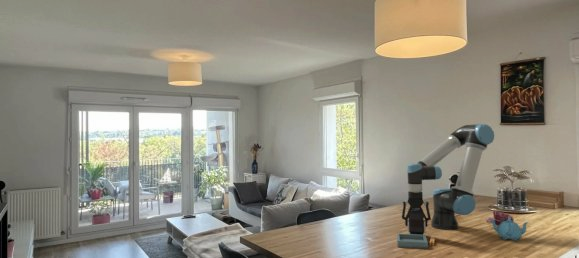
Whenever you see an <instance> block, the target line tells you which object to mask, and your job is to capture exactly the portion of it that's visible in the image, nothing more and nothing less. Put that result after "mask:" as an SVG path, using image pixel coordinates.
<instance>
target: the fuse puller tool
mask: <svg viewBox="0 0 579 258" xmlns="http://www.w3.org/2000/svg"><path fill="white" fill-rule="evenodd" d="M435 242H436V237H435V236H431V237H430V240H429V246H435Z"/></svg>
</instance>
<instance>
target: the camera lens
mask: <svg viewBox="0 0 579 258" xmlns="http://www.w3.org/2000/svg"><path fill="white" fill-rule="evenodd" d="M408 211H409V217H408V220H409V232H408V233H409V234H418V235H425V233H424V222H423V220H425V219H424V217H423V212H424V209H423V208H422V210H420V209H419V208H412V210H409V208H408V210H407V212H408Z"/></svg>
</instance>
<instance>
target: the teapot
mask: <svg viewBox="0 0 579 258" xmlns="http://www.w3.org/2000/svg"><path fill="white" fill-rule="evenodd" d="M490 220H491V219H490ZM491 221H492V223H493V224H492V223H491V224H492V226H493V229H494V230H495V232H496V233H497V235H498V236H499V237H500V238H502V240H503V241H507V240H508V239H511V240H512V241H513V242H518V239H521V238H523V235H524V234H525V233H526V231H527V225H528V224H529V223H530V222H529V221H527V222H524V223H523V225H522V228H521V227H520V225H519V224H518V223H517V222H515V221H513V222H511V221H512V220H511V218H510V217H508V220H507V221H503V222H501V224H500V225H499V227H497V226H496V224H495V221H494V220H491Z"/></svg>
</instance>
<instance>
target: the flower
mask: <svg viewBox="0 0 579 258" xmlns="http://www.w3.org/2000/svg"><path fill="white" fill-rule="evenodd" d="M492 214H493V217H488V218H485V221H486V223H489V224H492V225H493V223H492V221H491V220H494V221H495V224H496V226H497V227H499V225H500V224H501V222H503V221H507V220H508V217H510V218H511V220H512V221H511V222H515V221H514V218H513V216H512V215H511V214H509V213H505V212H503V211H499V210H493V212H492ZM490 219H491V220H490Z"/></svg>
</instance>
